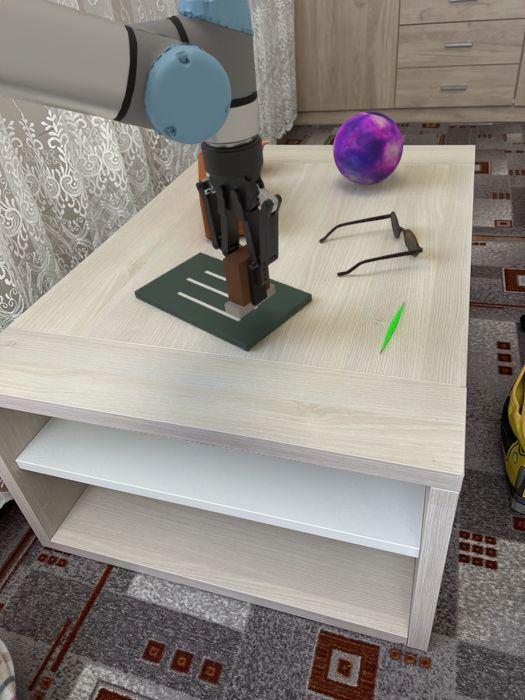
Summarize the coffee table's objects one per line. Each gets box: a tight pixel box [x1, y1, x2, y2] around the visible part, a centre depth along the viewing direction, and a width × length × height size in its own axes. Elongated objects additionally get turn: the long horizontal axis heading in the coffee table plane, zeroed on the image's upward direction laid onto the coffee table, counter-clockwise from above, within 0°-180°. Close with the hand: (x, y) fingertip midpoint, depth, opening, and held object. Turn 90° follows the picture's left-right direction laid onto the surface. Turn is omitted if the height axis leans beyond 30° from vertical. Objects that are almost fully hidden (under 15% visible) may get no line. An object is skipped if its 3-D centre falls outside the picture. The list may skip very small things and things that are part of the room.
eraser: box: [222, 244, 275, 318], centre depth 80 cm, size 8×3×8 cm, turn 139°
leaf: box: [379, 301, 405, 354], centre depth 82 cm, size 1×14×1 cm, turn 155°
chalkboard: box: [133, 252, 313, 352], centre depth 92 cm, size 26×16×1 cm, turn 50°
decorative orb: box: [332, 110, 404, 186], centre depth 120 cm, size 15×15×15 cm
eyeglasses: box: [318, 211, 424, 277], centre depth 99 cm, size 15×15×5 cm
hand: (250, 296), depth 82 cm, fingers closed on eraser, 3 cm apart
